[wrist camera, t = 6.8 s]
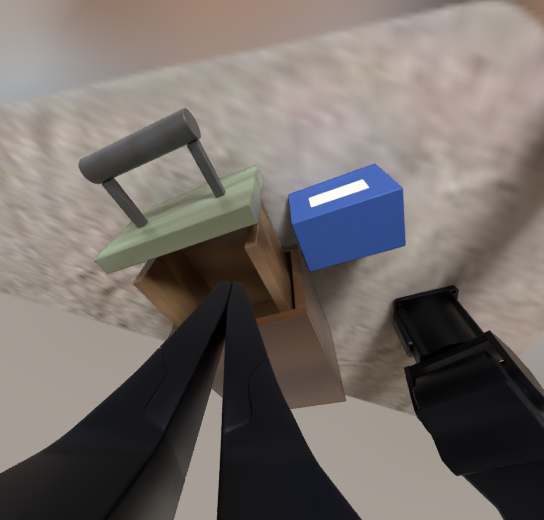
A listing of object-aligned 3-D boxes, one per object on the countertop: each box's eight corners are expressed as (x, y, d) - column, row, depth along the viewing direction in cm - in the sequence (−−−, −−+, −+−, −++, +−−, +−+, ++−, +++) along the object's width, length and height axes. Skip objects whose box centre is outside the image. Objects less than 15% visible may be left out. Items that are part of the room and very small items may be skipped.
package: (375, 162, 18) (403, 187, 14) (380, 213, 21) (405, 246, 17) (288, 194, 20) (291, 223, 16) (303, 237, 22) (309, 272, 18)
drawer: (97, 153, 17) (15, 189, 12) (226, 89, 15) (198, 97, 9) (220, 310, 27) (207, 367, 22) (307, 287, 25) (316, 345, 20)
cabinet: (193, 275, 25) (163, 348, 18) (297, 243, 23) (307, 314, 16) (249, 347, 34) (243, 415, 27) (330, 330, 31) (346, 401, 24)
